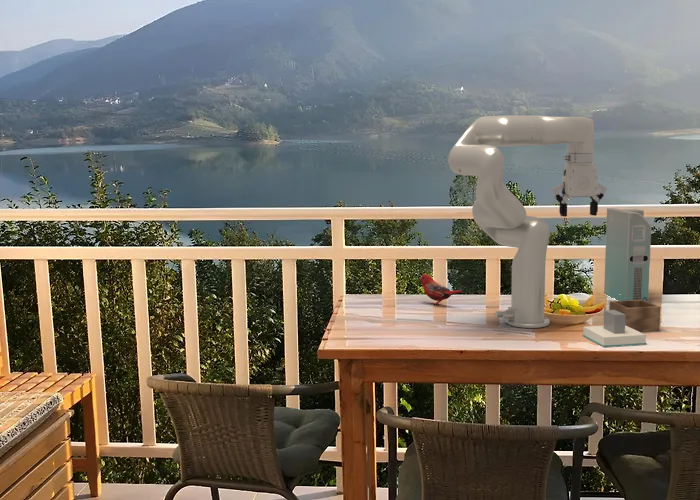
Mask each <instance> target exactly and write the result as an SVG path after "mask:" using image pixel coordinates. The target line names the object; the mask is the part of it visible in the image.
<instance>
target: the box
mask: <svg viewBox="0 0 700 500" xmlns="http://www.w3.org/2000/svg"><path fill="white" fill-rule="evenodd" d="M608 305H609V306H608V307H609V308H608V310H616V311H618V312H620V313H623V314H625V325H626V326H628V327H630V328H632V329H634V330H636V331H639V332H641V333H654V332H655V333H656V332H660V331H661V330H660V328H661V306H659V305H658V304H654V303H652V302H649V301H648V302H646V301H644V300H625V301H616V300H610V301H609V304H608Z"/></svg>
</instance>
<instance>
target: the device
mask: <svg viewBox="0 0 700 500" xmlns="http://www.w3.org/2000/svg"><path fill="white" fill-rule="evenodd" d="M644 214H645V210H643V209H636V208H624V209H622V208H621V209H620V208H615V207H607V208H606V224H605V225H606V227H605V228H606V229H605V252H604V253H605V256H604V257H605V258H604V283H603V284H604V286H603V287H604V288H603V289H604V290H603V295H604V294H606V295H608V296H610V297H611V298H610V297H609V298H610V299H612V298H615V299H616V300H618V301H625V300H644V301H646V302H649V294H650V293H649V292H650V291H649V290H650V289H649V288H650V272H651V271H650V268H651V267H650V266H651V245H652V244H651V243H652V225H651V224H650V222H649V221H648V220H647V219H645V217H644ZM619 294H621V295H619ZM608 296H607V297H608ZM616 300H615V301H616Z"/></svg>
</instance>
